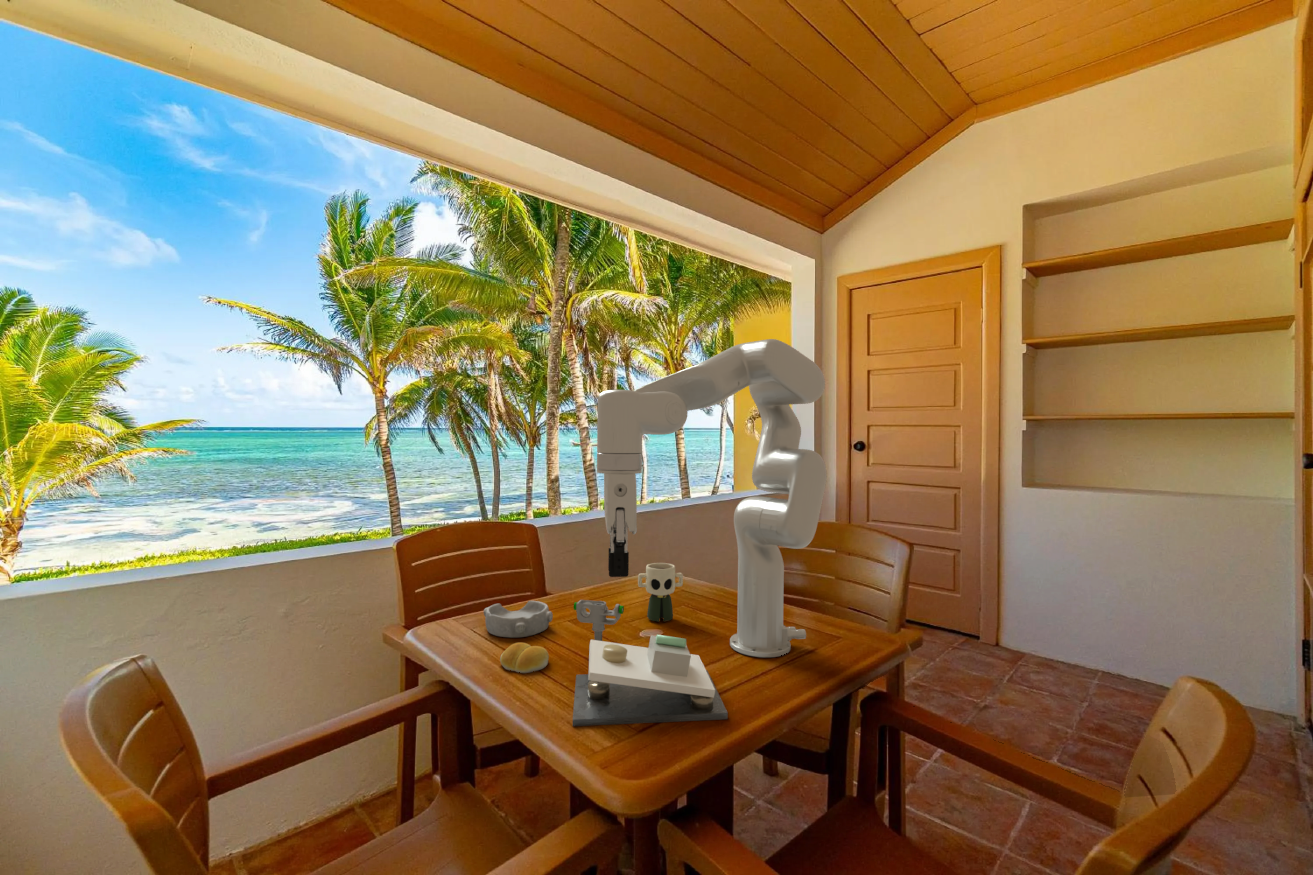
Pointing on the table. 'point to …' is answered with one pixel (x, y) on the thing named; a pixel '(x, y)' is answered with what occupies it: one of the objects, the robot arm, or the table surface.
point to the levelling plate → (643, 673)
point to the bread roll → (524, 658)
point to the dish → (518, 620)
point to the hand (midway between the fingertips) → (618, 572)
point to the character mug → (660, 589)
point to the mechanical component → (597, 615)
